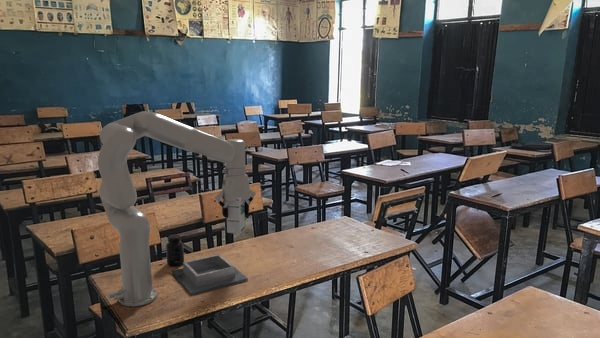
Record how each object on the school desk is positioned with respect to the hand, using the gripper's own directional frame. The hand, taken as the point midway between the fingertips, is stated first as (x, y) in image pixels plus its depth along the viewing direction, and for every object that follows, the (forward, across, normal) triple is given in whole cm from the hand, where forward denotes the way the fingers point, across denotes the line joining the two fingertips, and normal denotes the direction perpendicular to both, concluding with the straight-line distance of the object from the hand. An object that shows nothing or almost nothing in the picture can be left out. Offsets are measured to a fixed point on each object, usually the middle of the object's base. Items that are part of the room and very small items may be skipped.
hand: (235, 215), depth 176 cm
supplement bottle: (+23, -19, +18) cm, 35 cm away
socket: (+22, -12, -1) cm, 26 cm away
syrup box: (+7, 0, 0) cm, 7 cm away
